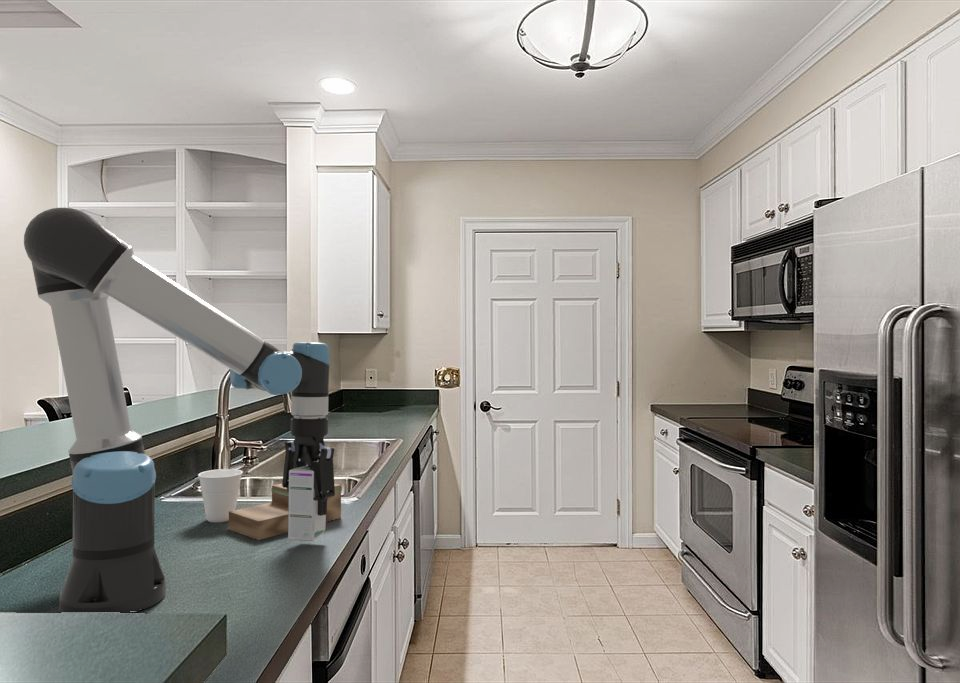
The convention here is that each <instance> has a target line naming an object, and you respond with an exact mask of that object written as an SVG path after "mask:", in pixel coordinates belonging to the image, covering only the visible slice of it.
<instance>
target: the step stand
mask: <svg viewBox="0 0 960 683" xmlns="http://www.w3.org/2000/svg"><path fill="white" fill-rule="evenodd" d="M334 486H335V495H334V496H332V497H329V498H328V499H327V514H326V523H328V521H329V522H332V521H331V520H333V521H335V520H334V519H337V520H339V519H338V518H340V519H341V518H342V489H343V487H342V485H341V484H339V483H336V482H334ZM288 519H289V492H288V491H287V488H286V487H285V488H284V487H283V486H282V483H278V484H272V485H271V502H267V503H261V504H258V505H254V506H253V505H252V506H247V507H244V508H238V509H236V510H234V511H229V521H228V530H229V531H232V532H235V533H238V534H241V535H243V536H246V537H250V538H251V539H255V540H257V541H260V540H263V539H264V540H265V539H267V538H271V537H275V536H280V535H282V534H287V533H288Z"/></svg>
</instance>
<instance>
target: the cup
mask: <svg viewBox="0 0 960 683" xmlns="http://www.w3.org/2000/svg"><path fill="white" fill-rule="evenodd" d="M243 473H244V471H243V470H240V469H235V468H219V469H212V470H211V469H208V470H206V471H205V470H204V471H202V472H200V473H198V474H197V476H198V478H199V485H200V489H201V496H202V501H203V506H204V514H205V519H206V520H207V522H210V523H224V522H229V511H234V510H237V509H236V508H237V504H238V496H239V490H240V487H241V486H240V485H241V480H242V475H243Z"/></svg>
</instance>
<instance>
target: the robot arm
mask: <svg viewBox="0 0 960 683" xmlns="http://www.w3.org/2000/svg"><path fill="white" fill-rule="evenodd" d="M23 234H24V235H23V246H24V249H25V252H26V255H27V257H28V258H29V260H30V261H31V265H32V271H33V276H34V282H35V285H36V286H35V287H36V291H37V296H38V298H39V299H40V300H42V301H44V302H45V303H46V304H48V305H49V306H50V309H51V310H50V311H51V314H52V315H51V316H52V319H53V325H54V331H55V333H56V334H55V335H56V341H57V345H58V350H59V356H60V360H61V366H62V371H63V376H64V381H65V388H66V392H67V397H68V401H69V402H68V403H69V408H70V412H71V417H72V423H73V427H74V433H75V442H74V443H73V444H72V445H71V447H70V448H69V449H68V456H69V462H70V466H71V472H72V477H71V481H70V482H71V488H72V559H71V564H70V566H69V569H68V572H67V575H66V577H65V580H64V583H63V586H62V588H61V591H60V594H59V599H58V600H59V601H58V605H59V607H58V611H59V613H60V612H120V613H132V614H135V613H136V612H130V611H138V612H140V609H144V610H146V609H148V608H151V607H152V606H155V605H156V604H158V603H159V602H161V601H162V600H163V599H164V598H165V597H166V594H167V579H166V576H165V573H164V570H163V568H162V565H161V563H160V561H159V557H158V555H157V552H156V548H155V507H156V506H155V499H156V498H155V489H156V488H155V484H156V481H157V480H156V479H157V473H156V469H155V462H154V460H153V459H152V457H150V456H149V455H147V454H146V452H145V446H144V443H143V436H142V435H141V434H140V433H138V432H137V431H135V430H133V429H132V428H131V423H130V418H129V411H128V407H127V402H126V395H125V391H124V385H123V384H124V383H123V380H122V375H121V369H120V363H119V362H120V361H119V357H118V351H117V347H116V341H115V336H114V331H113V325H112V320H111V314H110V310H109V303H108V299H109V297H111V298H113V299H114V300H116V301H117V302H119V303H121V304H123V305H124V306H126V307H127V308H129V309H130V310H132V311H134V312H135V313H137V314H139V315H141V317H144V318H145V319H147V320H149V321H150V322H152V323H154V324H156V325H157V326H159V327H160V328H162V329H164V330H165V331H166V332H169V333H171V334H172V335H174V336H175V337H177V338H178V339H180V340H182V341H184V342H185V343H186V344H188V345H190V346H192V347H193V348H194V349H197V350H198V351H200V352H202V353H203V354H205V355H206V356H208V357H209V358H210V359H213V360H215V361H217V363H220V365H223V366H225V367H226V368H227V369H229V378H230V379H229V380H230V384H231V386H232V387H233V388H234V389H242V390H243V389H245V390H250V389H251V390H252V389H253V390H255V389H258V390H261V391H264V392H267V393H268V394H270V395H273V396H274V395H275V396H278V395H285V394H289V393H291V399H290V401H291V402H290V403H291V404H290V414H291V416H293V417H292V418H290V435H291V436H293V437H294V440H289V441H285V443H284V451H285V456H284V465H283V476H282V483H281V484H282V486H283V487H284V488H285V487H286V488H287V491H288V492H289V471H290V470H291V469H295V468H298V467H302V466H308V467H309V468H310V470H312V471H314V490H315V495H316V497H315V498H313V520H312V532H317V531H322V530H325V531H326V524H327V522H326V514H327V499H328V498H329V497H332V496H334V495H335V486H334V483H335V474H334V473H335V472H334V471H335V470H334V456H335V448H334V447H328V446H326V444H325V441H324V438H325V437H326V436H327V435H328V433H329V418H328V417H327V415H328V414H329V394H330V393H329V390H330V389H329V388H330V386H329V385H330V368H331V360H330V356H331V355H330V347H329V345H328V344H327V343H325V342H302V341H301V342H297V341H296V342H294V343H293V345H292V349H291V351H290V350H288V351H281V350H280V349H278V348H277V347H275V346H274V345H272V344H270V343H269V342H267V341H265V340H264V338H261V337H260V336H259V335H257V334H255V333H254V332H252V331H251V330H249V329H248V328H246V327H244V326H243V325H242V324H240V323H239V322H237V321H235V320H234V319H232V318H231V317H229V316H228V315H226V314H224V313H223V312H221V311H220V310H219V309H217V308H215V307H214V306H213V305H211V304H209V303H208V302H206V301H204V300H203V299H201V298H200V297H199V296H197V295H195V294H194V293H193V292H191V291H189V290H188V289H187V288H184V287H183V286H182V285H180V284H179V283H176V282H175V281H174V280H172V279H170V278H169V277H167V276H166V275H165V274H163V273H161V272H159V270H157V269H156V268H154V267H152V266H151V265H149V263H148V264H147V263H146V262H145V261H143V260H141V259H140V258H138V257H137V256H135V254H134V250H133V246H132V245H130V244H128V243H127V242H125V240H123V239H121V238H119V236H117V235H115V234H114V233H113V232H111V231H110V230H108V228H106V227H105V226H104V225H102V223H100V222H99V221H98V220H97V219H96V218H94V217H92V216H91V215H89V214H88V213H86V212H84V211H82V210H79V209H75V208H70V207H54V208H50V209H46V210H43V211H42V212H40V213H38V214H37V215H36V216H34V217H33V218H32V219H31V220H30V222H29V223H28V225H27V226H26V228H25V230H24V233H23Z"/></svg>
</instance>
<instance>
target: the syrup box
mask: <svg viewBox="0 0 960 683" xmlns="http://www.w3.org/2000/svg"><path fill="white" fill-rule="evenodd" d="M288 481H289V519H288V532H287V533H288V535H287V536H288V537H287V538H288V540H291V541H297V542H298V541H299V542H315V540H317V539H318V538H319V539H320V537H321V536H324V535H326V529H325V530H322V531H317V532H312V520H313V498H315V497H316V495H315V490H314V471H312V470H310V468H309V467H308V466H302V467H298V468H295V469H291V470H290V471H289V480H288Z"/></svg>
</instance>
